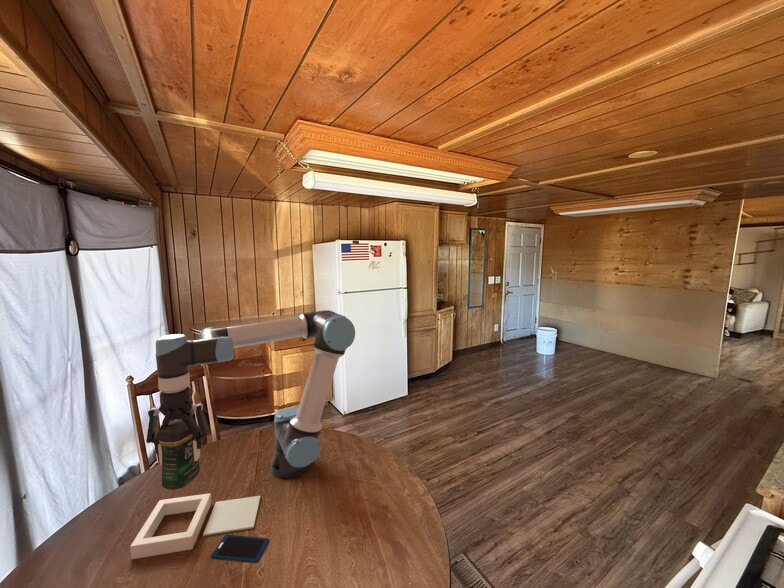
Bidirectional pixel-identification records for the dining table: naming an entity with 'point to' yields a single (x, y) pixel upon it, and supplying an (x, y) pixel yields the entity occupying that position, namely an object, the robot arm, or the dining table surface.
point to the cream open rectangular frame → (172, 542)
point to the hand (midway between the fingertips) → (180, 460)
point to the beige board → (232, 515)
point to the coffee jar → (177, 455)
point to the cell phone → (240, 548)
